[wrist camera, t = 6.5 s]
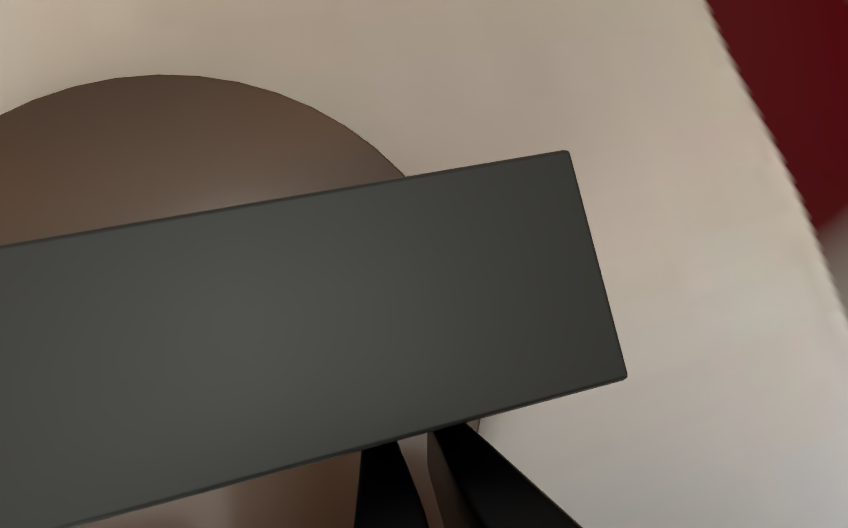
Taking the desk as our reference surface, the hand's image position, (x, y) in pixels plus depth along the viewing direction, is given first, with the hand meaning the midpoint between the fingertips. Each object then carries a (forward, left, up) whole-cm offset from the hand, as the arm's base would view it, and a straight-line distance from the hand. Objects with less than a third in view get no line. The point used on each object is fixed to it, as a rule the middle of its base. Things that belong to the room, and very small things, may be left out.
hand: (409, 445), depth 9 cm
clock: (+4, +2, -7) cm, 8 cm away
